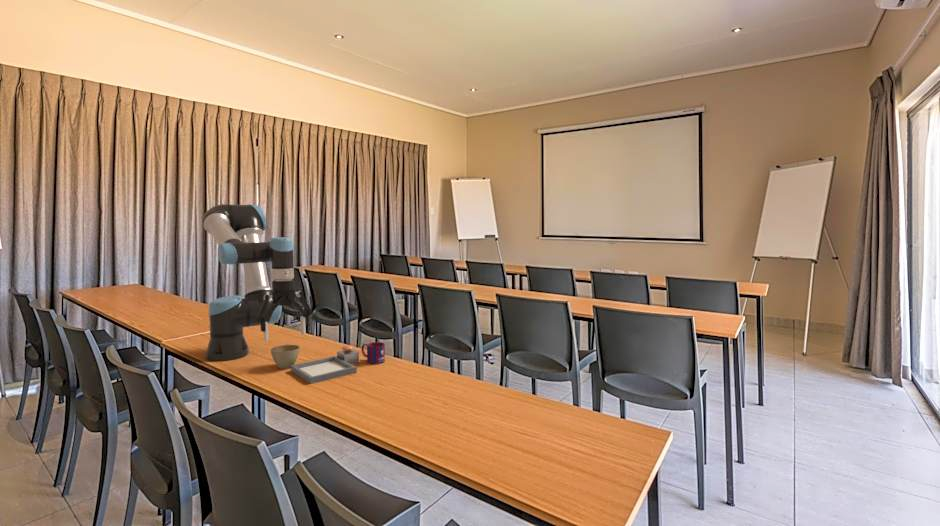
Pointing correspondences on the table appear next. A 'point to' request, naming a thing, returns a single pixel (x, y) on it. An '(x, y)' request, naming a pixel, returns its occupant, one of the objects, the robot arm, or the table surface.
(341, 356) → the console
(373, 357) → the cup
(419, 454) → the table surface
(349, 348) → the button
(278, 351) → the flower pot
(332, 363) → the tray
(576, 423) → the table surface
